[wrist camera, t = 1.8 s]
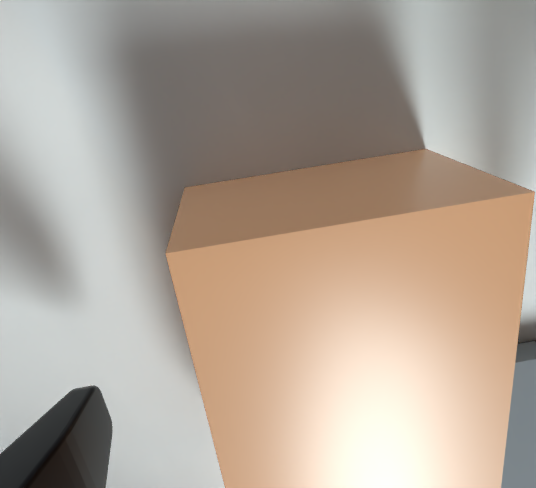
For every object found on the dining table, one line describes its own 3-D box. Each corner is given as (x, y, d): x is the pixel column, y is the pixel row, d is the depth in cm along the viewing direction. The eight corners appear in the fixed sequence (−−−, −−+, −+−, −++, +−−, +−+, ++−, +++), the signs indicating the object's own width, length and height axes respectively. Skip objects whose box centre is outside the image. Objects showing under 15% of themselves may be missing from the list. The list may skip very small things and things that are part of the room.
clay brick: (420, 146, 9) (535, 192, 6) (419, 391, 11) (497, 517, 8) (185, 184, 8) (165, 253, 5) (238, 424, 11) (245, 568, 8)
